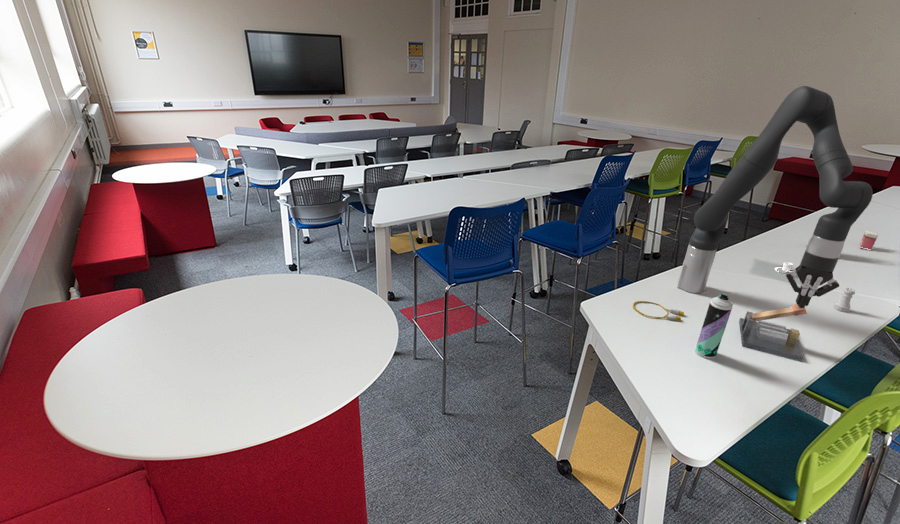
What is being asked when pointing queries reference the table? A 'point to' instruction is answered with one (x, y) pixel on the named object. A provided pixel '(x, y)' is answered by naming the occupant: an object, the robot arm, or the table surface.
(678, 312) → the extension cord
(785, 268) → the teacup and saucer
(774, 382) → the table surface
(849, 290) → the rook chess piece
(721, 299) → the spray can
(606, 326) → the table surface
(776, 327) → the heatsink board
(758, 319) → the lever
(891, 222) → the table surface
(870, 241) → the small box
